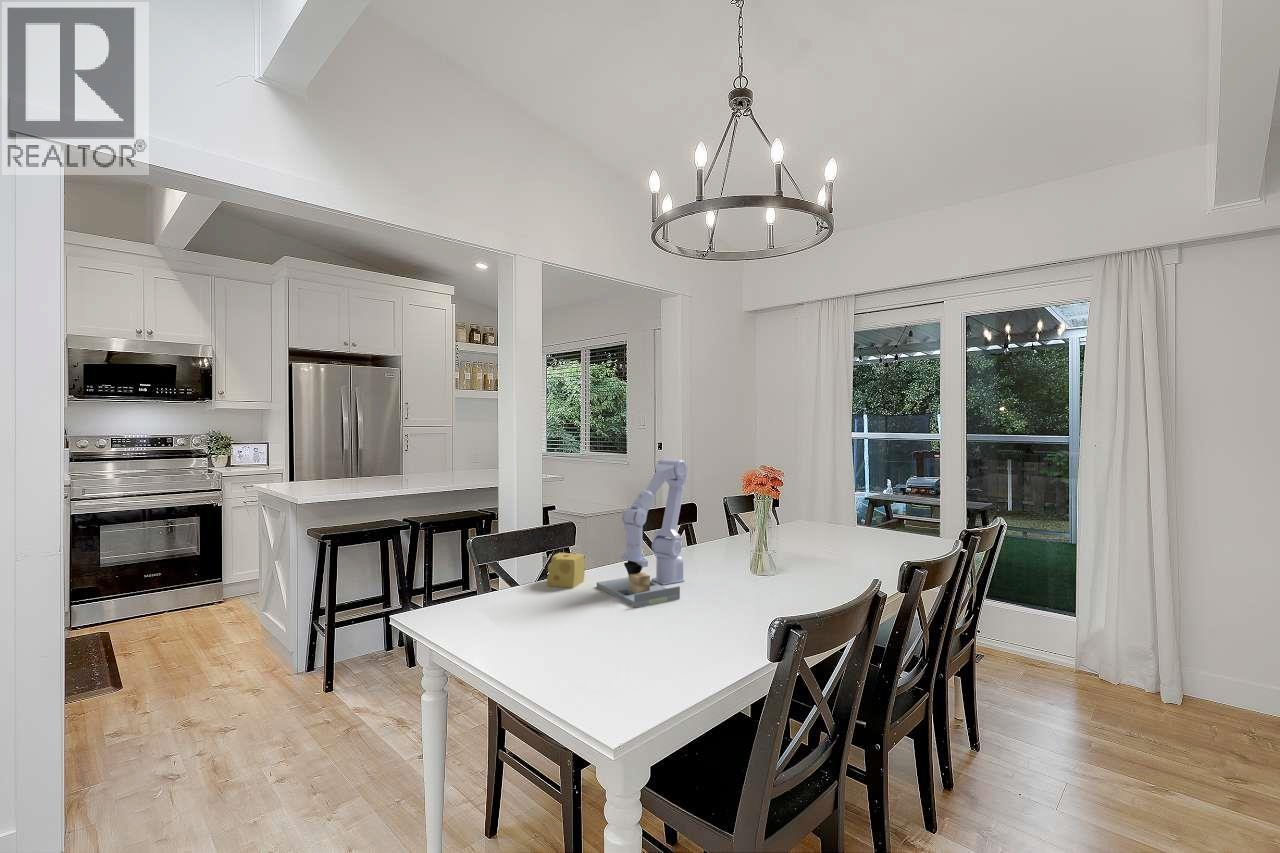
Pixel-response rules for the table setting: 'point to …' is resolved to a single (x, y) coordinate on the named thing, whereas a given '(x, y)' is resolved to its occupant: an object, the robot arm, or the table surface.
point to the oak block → (639, 582)
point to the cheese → (566, 570)
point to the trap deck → (653, 596)
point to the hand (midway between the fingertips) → (633, 583)
